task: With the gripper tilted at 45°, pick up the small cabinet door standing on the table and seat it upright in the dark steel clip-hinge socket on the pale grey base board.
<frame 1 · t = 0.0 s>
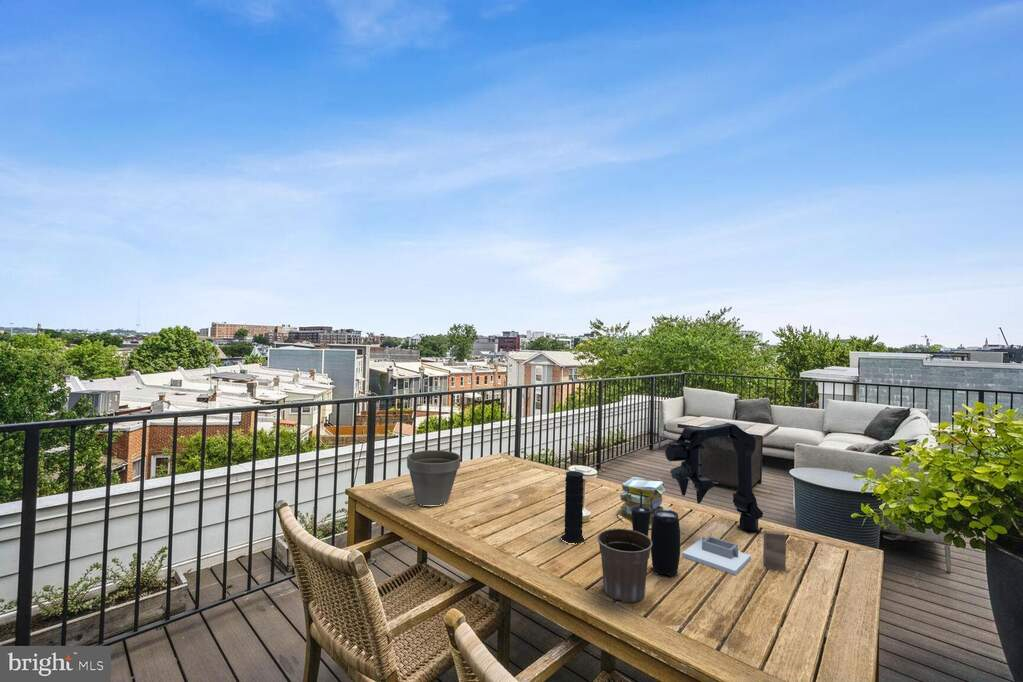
hand: (691, 499, 180), 15 cm above the table, tool pointing down, fingers open, 9 cm apart
plant pot: (433, 502, 213), on the table
plant pot 2: (623, 592, 138), on the table
handle grip: (573, 540, 175), on the table
hinge base: (719, 555, 164), on the table
portable speaker: (665, 572, 152), on the table
door panel: (774, 567, 156), on the table
drinking cup: (640, 545, 172), on the table
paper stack: (646, 518, 198), on the table
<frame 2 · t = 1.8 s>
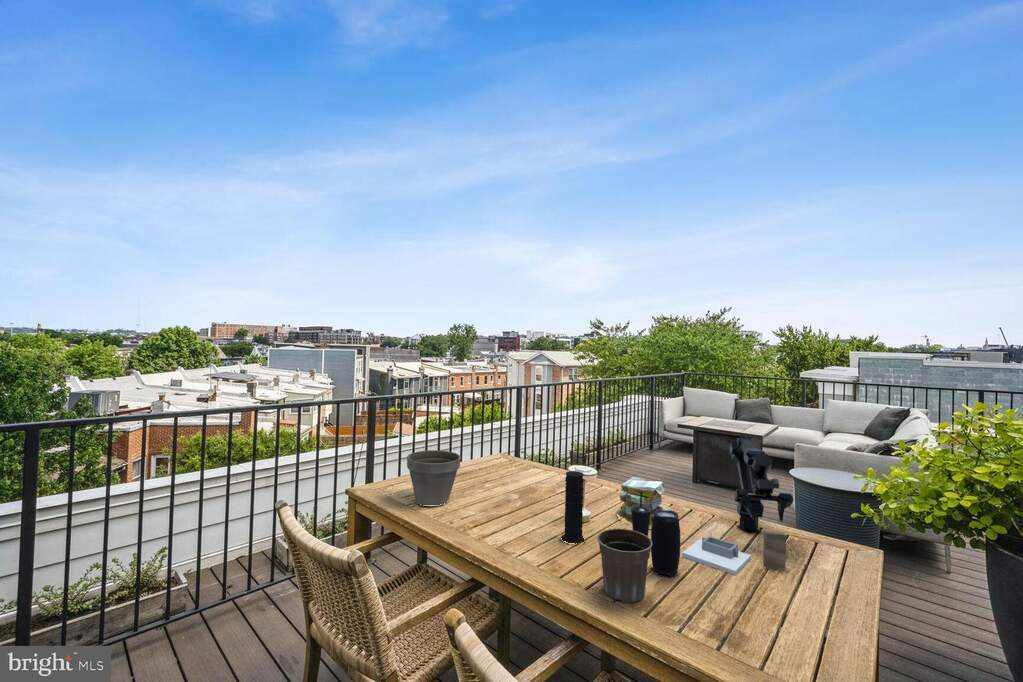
hand: (767, 520, 163), 13 cm above the table, tool tilted 45°, fingers open, 9 cm apart
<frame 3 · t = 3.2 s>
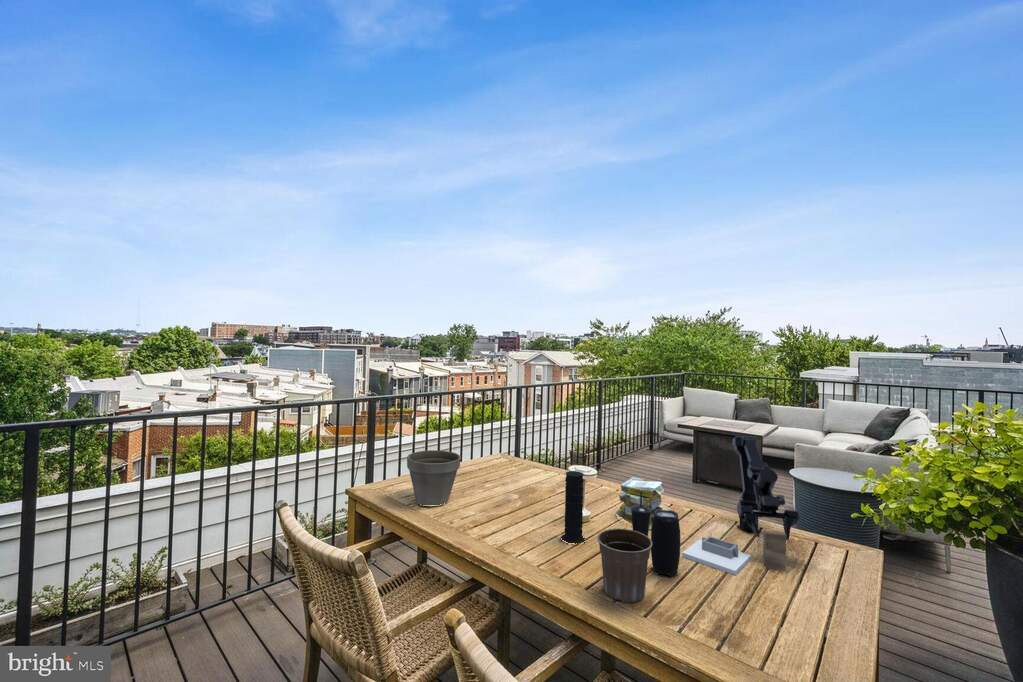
hand: (773, 538, 157), 9 cm above the table, tool tilted 45°, fingers open, 9 cm apart
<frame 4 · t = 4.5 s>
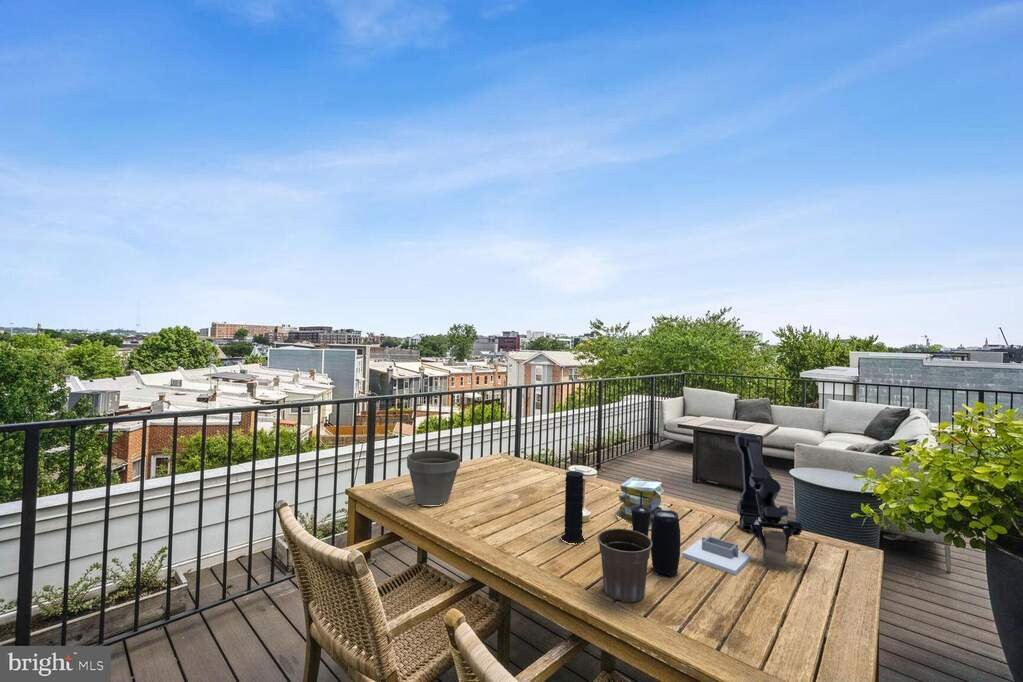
hand: (775, 550, 154), 7 cm above the table, tool tilted 45°, fingers closed on door panel, 6 cm apart
door panel: (774, 567, 156), on the table, touching gripper
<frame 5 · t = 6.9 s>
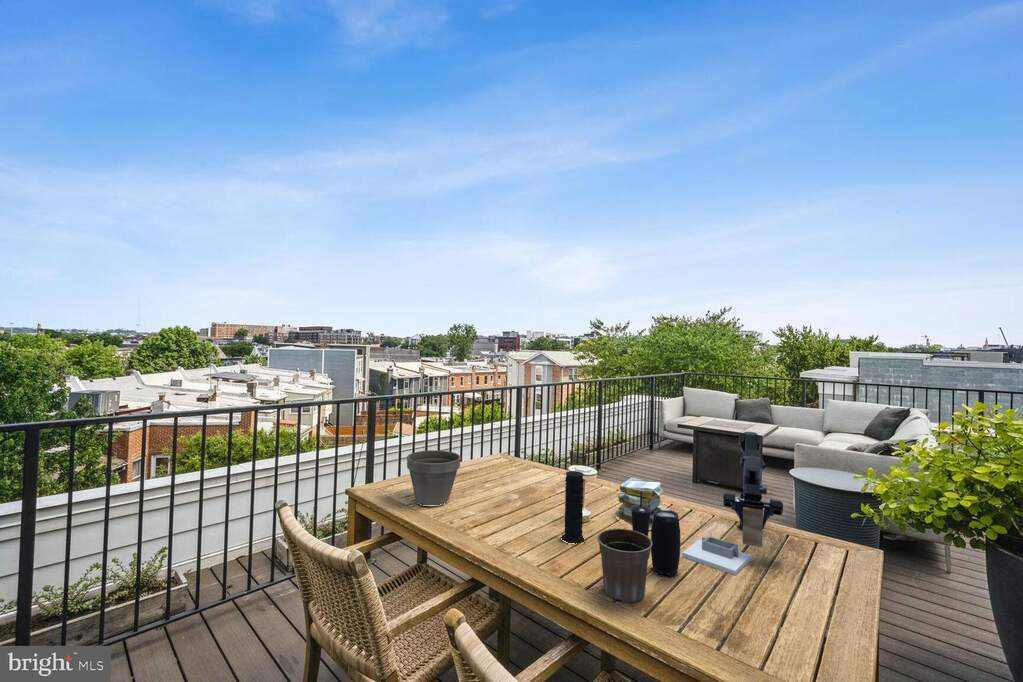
hand: (752, 526, 157), 13 cm above the table, tool tilted 45°, fingers closed on door panel, 6 cm apart
door panel: (752, 544, 158), point 7 cm above the table, touching gripper
when the fingers open (9 cm above the table, at t = 9.1 s): door panel drops 1 cm, resting on hinge base.
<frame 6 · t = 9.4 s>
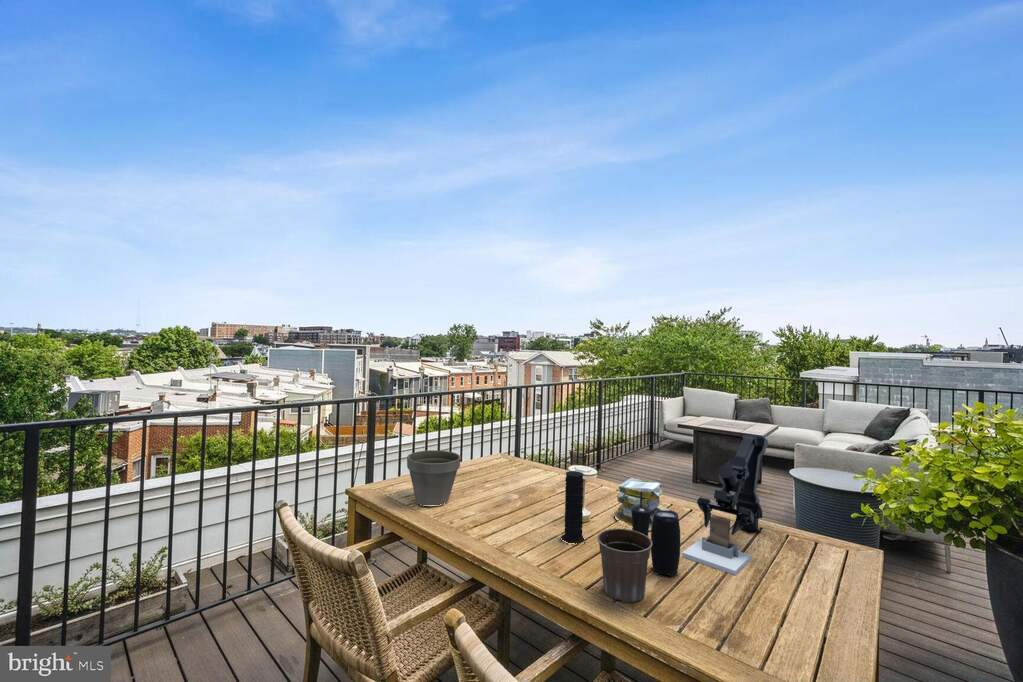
hand: (718, 530, 163), 9 cm above the table, tool tilted 45°, fingers open, 9 cm apart
door panel: (719, 551, 164), point 2 cm above the table, touching hinge base
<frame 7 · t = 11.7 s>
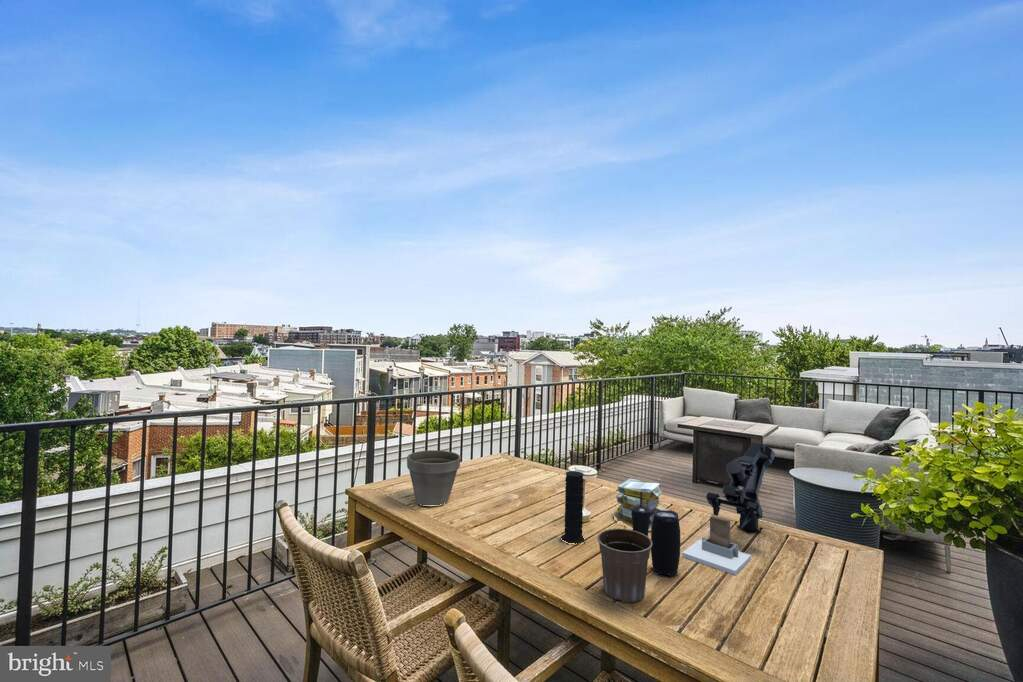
hand: (727, 524, 169), 9 cm above the table, tool tilted 45°, fingers open, 9 cm apart
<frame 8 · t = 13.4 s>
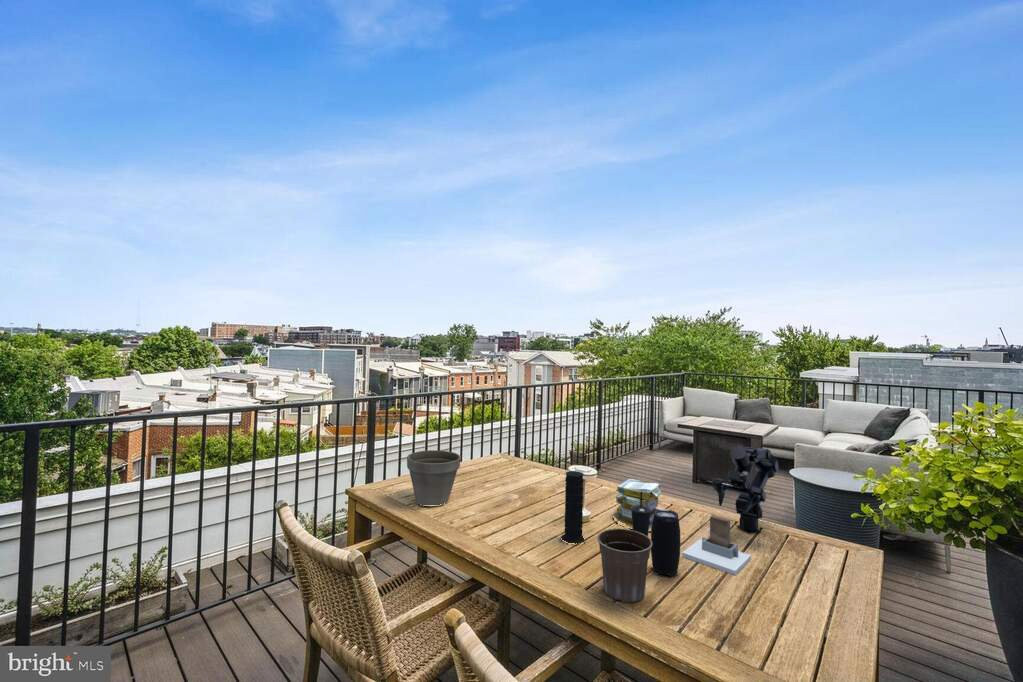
hand: (732, 508, 174), 14 cm above the table, tool tilted 45°, fingers open, 9 cm apart
at the end: door panel 0.0 cm off-centre on the hinge base, point 1.5 cm above the hinge base's base; door panel tilted 0°; the gripper is holding nothing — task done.
